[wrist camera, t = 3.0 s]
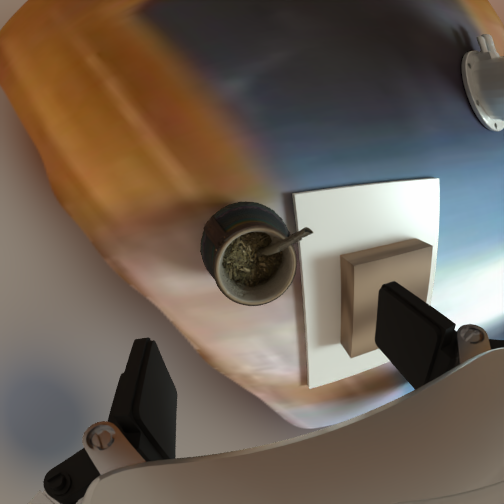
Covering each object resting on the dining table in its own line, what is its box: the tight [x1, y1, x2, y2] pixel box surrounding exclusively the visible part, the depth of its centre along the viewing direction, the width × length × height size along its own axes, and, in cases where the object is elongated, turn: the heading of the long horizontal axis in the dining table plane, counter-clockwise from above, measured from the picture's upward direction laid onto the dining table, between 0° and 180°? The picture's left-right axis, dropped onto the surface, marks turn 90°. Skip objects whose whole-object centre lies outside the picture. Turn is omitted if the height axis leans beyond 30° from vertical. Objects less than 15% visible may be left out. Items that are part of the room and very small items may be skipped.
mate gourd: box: [200, 202, 313, 306], centre depth 20 cm, size 7×8×10 cm
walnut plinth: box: [340, 238, 433, 358], centre depth 27 cm, size 11×10×3 cm
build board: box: [292, 178, 439, 389], centre depth 29 cm, size 24×18×1 cm
